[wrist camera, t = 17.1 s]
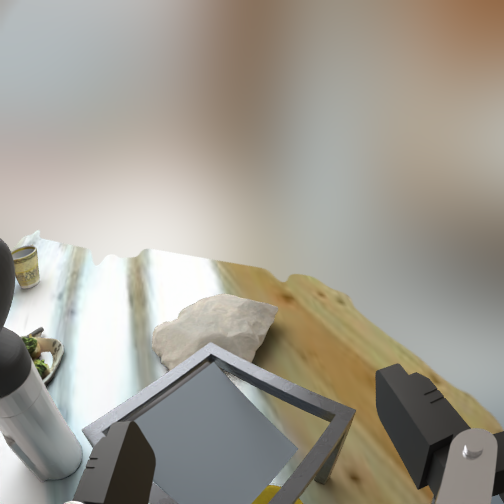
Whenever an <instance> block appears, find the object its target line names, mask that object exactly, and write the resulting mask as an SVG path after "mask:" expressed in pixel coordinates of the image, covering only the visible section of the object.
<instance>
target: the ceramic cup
mask: <svg viewBox="0 0 504 504" xmlns="http://www.w3.org/2000/svg"><path fill="white" fill-rule="evenodd" d="M11 254H12V256H13V260H14V266H15V276H16V278H17V280H18V283H19V285H20V286H21V287H22V289H29V288H31V287H33V286H36V285H37V284H38V282H39V280H40V279H39V270H38V257H37V248H36V247H35V246H34V245H28V246H23V247H19V248H17V249H14V250H13V251H11Z"/></svg>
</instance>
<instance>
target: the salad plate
mask: <svg viewBox="0 0 504 504" xmlns="http://www.w3.org/2000/svg"><path fill="white" fill-rule="evenodd" d="M43 331H44V329H43V328H42V327H40V328H38V329H37V330H35V331H34V332H32V333H30V334H29V335H27V336H21V337H20V338H21V339H22V340H23V342H24V344H25V346H26V348H27V350H28V352H29V354H30V356H31V358H32V361H33V363H34V365H35V367H36V369H37V371H38V373H39V375H40V377H41V379H42V381H43V383H44V384H45V386H47V384H48V383H49V382H50V381H51V380H52V379H53V377H54V374H55V371H56V369H57V367H58V365H59V364H60V361H61V358H62V355H63V353H64V346H63V345H62V343H61V342H60V341H59V340H57V339H51V338H41V337H40V335H41V333H42V332H43ZM41 352H51V354H52V356H53V364H52V366H51V369H50V368H49V366H48V365H47V364H45V363H44V360H41V361H40V360H39V357H41Z"/></svg>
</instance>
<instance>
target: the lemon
mask: <svg viewBox="0 0 504 504" xmlns="http://www.w3.org/2000/svg"><path fill="white" fill-rule="evenodd" d="M280 489H281V487H279V486H274V485H268V486H267V487H266V488H265V489H264V490H263V491H262V492H261V494H260V495H259V496H258V497H257V498H256V499H255V500H254V501H253V502H252V503H251V504H268V503H269V501H270V500H271V499H272V498H273V497H274V496H275V494H276V493H277V492H278V491H279V490H280ZM294 504H303V503H302V501H301V500H300V499H299V498H298V500H297V501H296V502H295V503H294Z"/></svg>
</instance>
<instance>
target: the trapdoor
mask: <svg viewBox="0 0 504 504" xmlns="http://www.w3.org/2000/svg"><path fill="white" fill-rule="evenodd" d="M126 421H134V422H136V423H137V424H138V426H139V428H140V429H141V431H142V433H143V434H144V436H145V438H146V439H147V441H148V442H149V444H150V446H151V447H152V449H153V451H154V453H155V458H156V467H155V472H154V477H153V481H154V482H155V483H156V484H157V485H158V486H159V487H160V488H161V489H162V490H163V491H164V492H165V493H166V494H167V495H169V496H170V497H171V498H172V499H173V500H175V501H176V502H177V503H178V504H251V503H252V502H253V501H254V500H255V499H256V498H257V497H258V496H259V495H260V494H261V492H262V491H263V490H264V489H265V488H266V487H267V486H268V485H269V483H270V482H271V481H272V480H273V479H274V478H275V477H276V475H277V474H278V473H279V472H280V471H281V469H282V468H283V467H284V466H285V465H286V463H287V462H288V461H289V460H290V459H291V457H292V456H293V455H294V454H295V452H296V451H297V450H298V448H297V447H296V446H295V445H294V444H293V443H292V442H291V441H290V440H288V439H287V438H286V437H285V436H284V435H283V434H282V433H281V432H280V431H279V430H278V429H277V428H276V427H275V426H274V425H273V424H272V423H271V422H270V421H269V420H268V419H267V418H266V417H265V416H264V415H263V414H262V413H261V412H260V411H259V410H258V409H257V408H256V407H255V406H254V405H253V404H252V403H251V402H250V401H249V400H248V399H247V397H246V396H245V395H244V394H243V393H242V392H241V391H240V390H239V389H238V388H237V387H236V386H235V385H234V384H233V383H232V382H231V380H230V379H229V378H228V377H227V376H226V375H225V374H224V373H223V372H222V371H221V369H220V368H219V367H218V366H217V365H216V364H215V363H214V362H213V363H211V364H210V363H209V362H206V363H205V364H203V365H202V366H201V367H199V368H198V369H197V370H195V371H194V372H193V373H191V374H190V375H189V376H187V377H186V378H185V379H183V380H182V381H181V382H179V383H178V384H176V385H175V386H174V387H172V388H171V389H170V390H168V391H167V392H166V393H164V394H163V395H161V396H160V397H159V398H157V399H156V400H154V401H153V402H152V403H150V404H149V405H147V406H146V407H145V408H143V409H142V410H140V411H139V412H137V413H136V414H135V415H133V416H132V417H130V418H129V419H127V420H126ZM126 421H124V422H126Z"/></svg>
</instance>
